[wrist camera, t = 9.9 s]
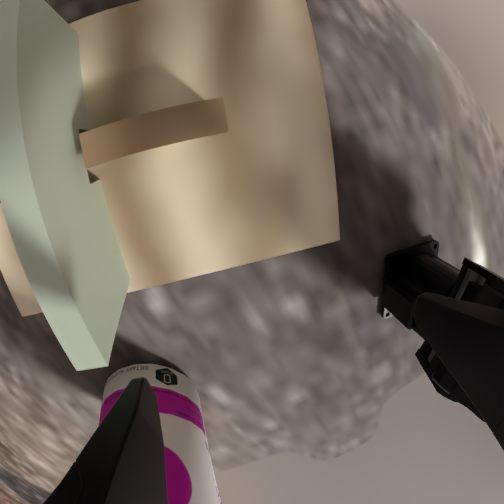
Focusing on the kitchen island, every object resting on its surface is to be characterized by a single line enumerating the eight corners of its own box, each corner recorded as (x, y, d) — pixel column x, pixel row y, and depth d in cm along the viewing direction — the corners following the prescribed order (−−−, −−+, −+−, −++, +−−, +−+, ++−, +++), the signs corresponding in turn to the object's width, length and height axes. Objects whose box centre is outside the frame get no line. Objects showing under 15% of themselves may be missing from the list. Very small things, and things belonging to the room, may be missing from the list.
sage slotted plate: (55, 44, 11) (-10, -1, 4) (78, 34, 11) (22, -21, 4) (108, 284, 17) (77, 370, 10) (130, 279, 17) (108, 366, 10)
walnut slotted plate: (213, 107, 15) (222, 96, 11) (217, 134, 16) (228, 131, 12) (-16, 186, 12) (-51, 199, 9) (-11, 208, 13) (-44, 226, 9)
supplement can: (94, 358, 20) (70, 535, 6) (194, 355, 22) (234, 540, 8) (118, 418, 23) (119, 559, 9) (200, 415, 25) (234, 557, 11)
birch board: (296, -7, 14) (302, -12, 13) (333, 235, 21) (340, 240, 20) (-30, 85, 10) (-37, 84, 9) (27, 310, 17) (22, 316, 16)
